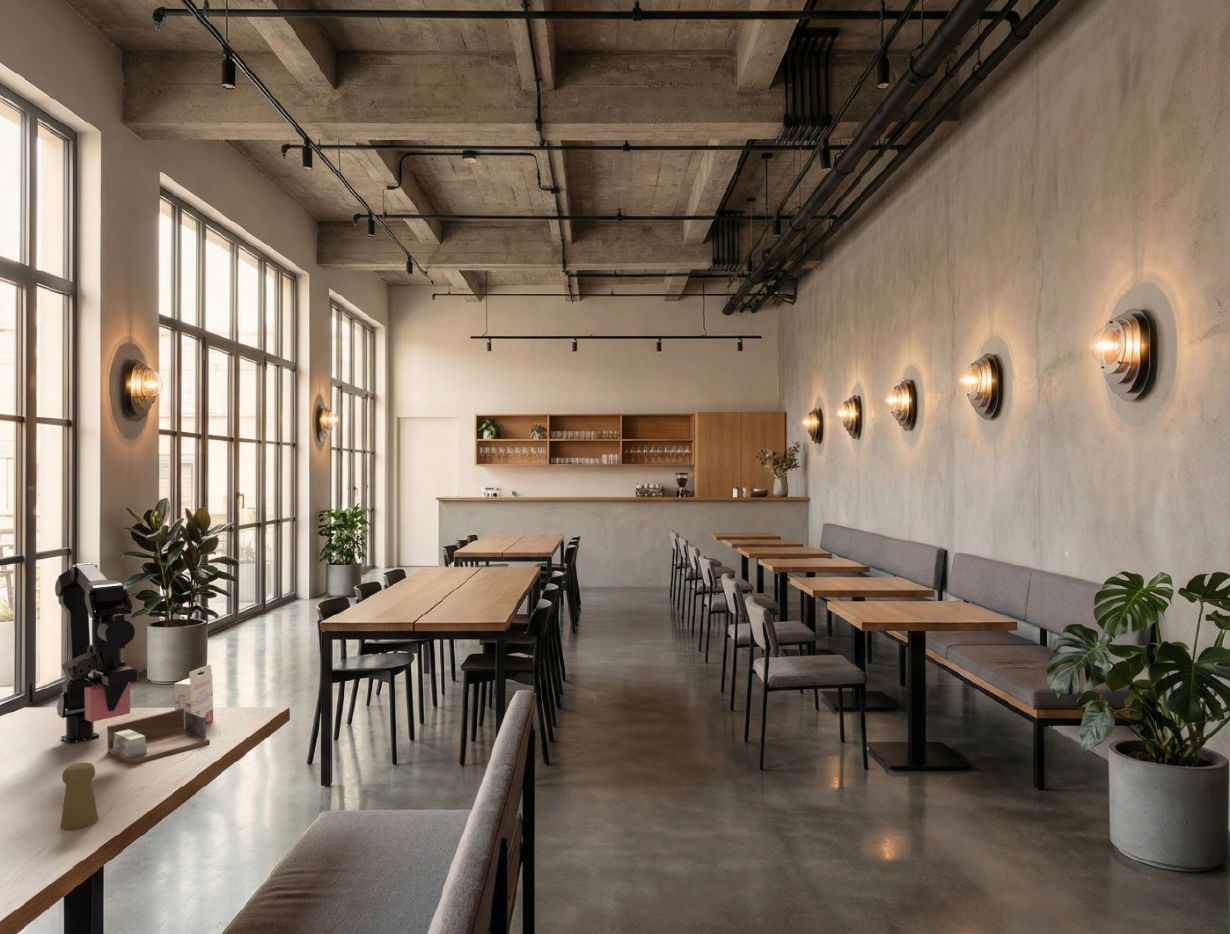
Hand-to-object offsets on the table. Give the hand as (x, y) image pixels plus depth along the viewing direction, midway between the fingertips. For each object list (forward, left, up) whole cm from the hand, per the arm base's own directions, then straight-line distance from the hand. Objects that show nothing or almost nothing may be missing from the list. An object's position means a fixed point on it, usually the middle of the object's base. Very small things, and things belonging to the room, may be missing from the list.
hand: (107, 709), depth 192 cm
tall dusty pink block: (0, 0, -2) cm, 2 cm away
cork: (+31, -17, -12) cm, 37 cm away
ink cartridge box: (-12, +25, -12) cm, 30 cm away
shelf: (-1, +11, -12) cm, 17 cm away
